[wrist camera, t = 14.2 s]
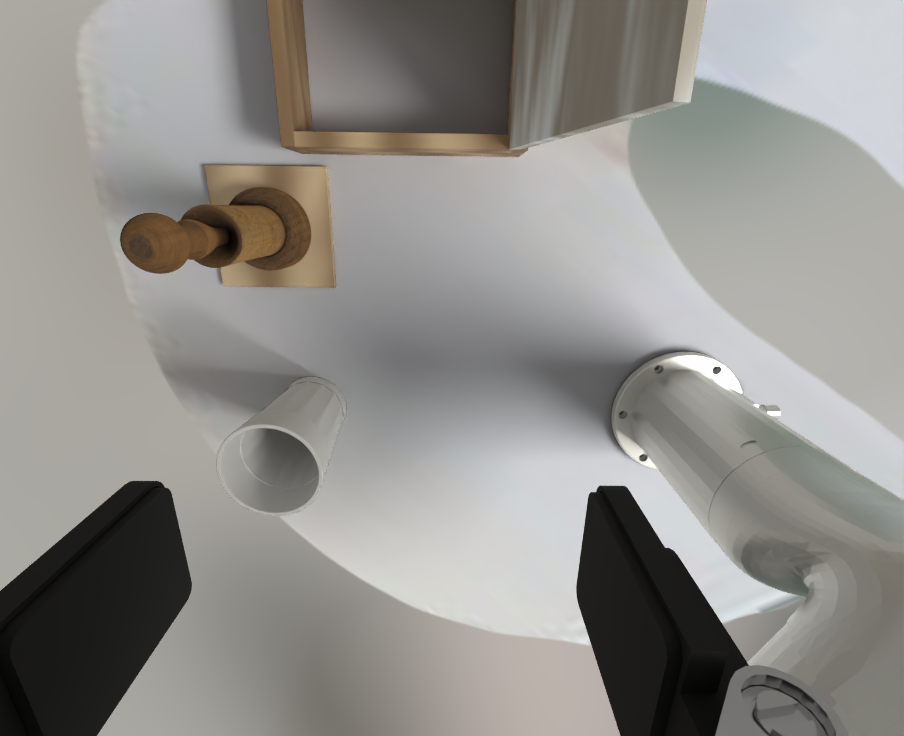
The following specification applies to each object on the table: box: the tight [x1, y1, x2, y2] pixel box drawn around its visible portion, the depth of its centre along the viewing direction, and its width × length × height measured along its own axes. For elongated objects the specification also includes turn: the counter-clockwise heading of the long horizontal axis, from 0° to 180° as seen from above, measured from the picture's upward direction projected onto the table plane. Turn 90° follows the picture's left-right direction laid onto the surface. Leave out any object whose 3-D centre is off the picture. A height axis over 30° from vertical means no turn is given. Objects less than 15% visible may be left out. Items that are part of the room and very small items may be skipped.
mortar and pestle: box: [120, 187, 311, 274], centre depth 31 cm, size 7×6×18 cm
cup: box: [216, 377, 346, 516], centre depth 40 cm, size 8×8×12 cm
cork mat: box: [204, 165, 336, 288], centre depth 40 cm, size 10×10×1 cm
